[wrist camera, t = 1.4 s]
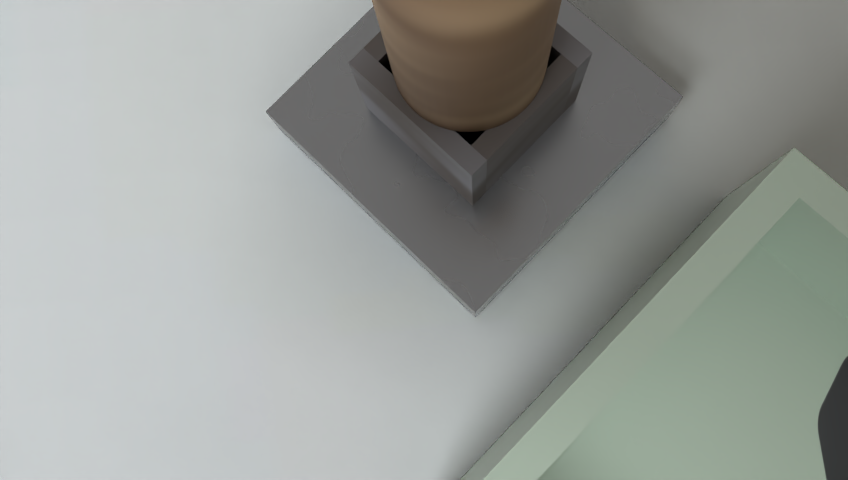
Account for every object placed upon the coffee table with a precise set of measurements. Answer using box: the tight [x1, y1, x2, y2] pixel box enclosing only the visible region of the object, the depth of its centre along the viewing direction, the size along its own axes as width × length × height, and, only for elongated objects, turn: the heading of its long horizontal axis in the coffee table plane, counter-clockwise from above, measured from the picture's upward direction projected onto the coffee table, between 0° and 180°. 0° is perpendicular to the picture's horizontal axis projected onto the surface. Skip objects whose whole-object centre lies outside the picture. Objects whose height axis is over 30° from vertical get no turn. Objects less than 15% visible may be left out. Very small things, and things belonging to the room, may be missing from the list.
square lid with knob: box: [266, 0, 683, 317], centre depth 20 cm, size 8×8×4 cm
